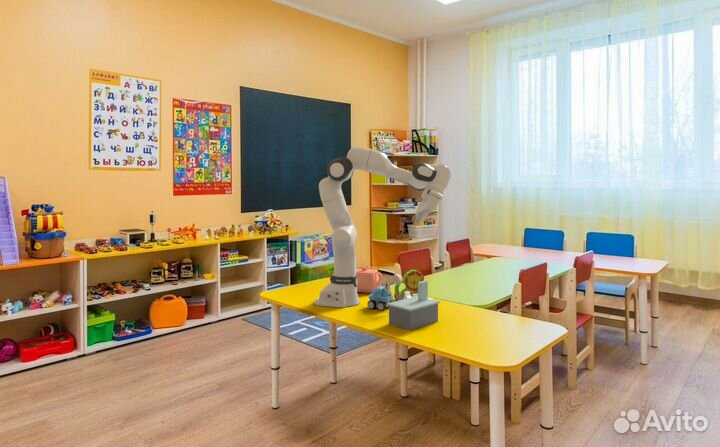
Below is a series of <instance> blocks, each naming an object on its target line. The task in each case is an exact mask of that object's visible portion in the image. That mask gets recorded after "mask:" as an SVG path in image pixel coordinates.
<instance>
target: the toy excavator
mask: <svg viewBox="0 0 720 447" xmlns="http://www.w3.org/2000/svg"><path fill="white" fill-rule="evenodd" d="M402 278H403V276H402V275H401V274H399V273H396V274H393V276H391V277H390V278H387V279H386V280H385V282H384V286H382V285H381V287H378V288H376V289H374V290H373V292H372V293H369V295H368V299H369V300H368V301H367V308H368V309H375V308H376V309H378V310H380V311H381V312H382V311H384V310H386V309H387V308H389V306H388V305H387V303H391V302H393V300H394V295H392V291H391V284H393V283H394V282H396V283H397V285H399V284H400V285H401V284H403V283H402V281H403V279H402ZM396 283H395V284H396Z"/></svg>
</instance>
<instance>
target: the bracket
mask: <svg viewBox="0 0 720 447" xmlns="http://www.w3.org/2000/svg"><path fill="white" fill-rule="evenodd" d="M415 296H418V294H412V297H415ZM407 298H411V295H410V292H409V291H407V292H404V299H407ZM428 299H432V300H435V299H434V298H431V297H428Z"/></svg>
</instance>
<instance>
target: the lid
mask: <svg viewBox="0 0 720 447" xmlns="http://www.w3.org/2000/svg"><path fill="white" fill-rule="evenodd" d="M428 289H429V286H428V281H426V280H424V281H421V282H418V296H415V297H411V298H407V299H403V300H399V301H398V300H396V301H392V302H391V303H387V305H388V306H392V307H395V308H399V309H403V310H407V311H414V310H417V309H421V308H424V307H428V306H431V305H435V304H438V305H439V304H440V303H441V302H440V301H441V300H437V299H434V300H432V299H433V298H432V299H428V298H429V297H428V293H429V292H428Z"/></svg>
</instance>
